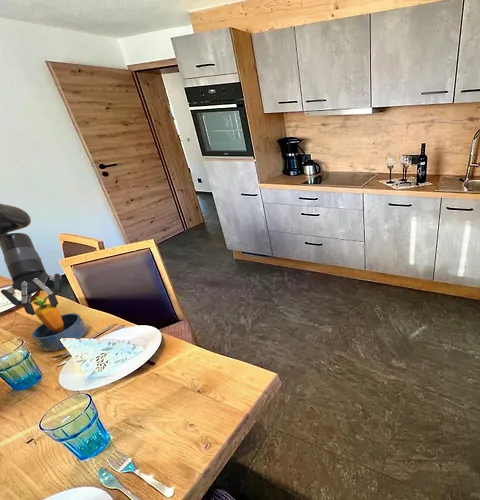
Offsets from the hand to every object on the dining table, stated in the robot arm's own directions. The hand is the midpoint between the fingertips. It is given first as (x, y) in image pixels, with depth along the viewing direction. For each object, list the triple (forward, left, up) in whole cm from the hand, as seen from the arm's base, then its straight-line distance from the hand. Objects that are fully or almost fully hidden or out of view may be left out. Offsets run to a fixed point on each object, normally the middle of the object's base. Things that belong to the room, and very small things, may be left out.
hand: (43, 310), depth 91 cm
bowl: (0, +2, -13) cm, 14 cm away
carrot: (-1, +2, -11) cm, 11 cm away
